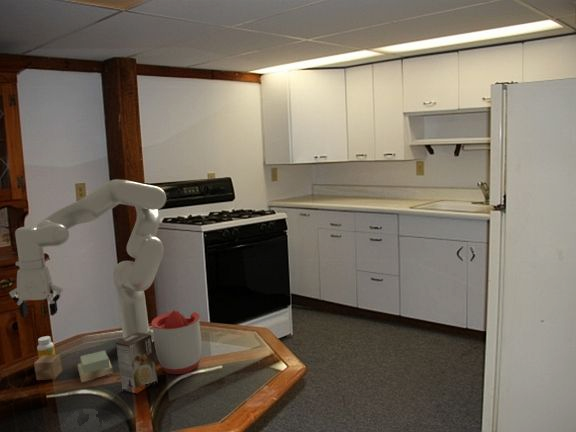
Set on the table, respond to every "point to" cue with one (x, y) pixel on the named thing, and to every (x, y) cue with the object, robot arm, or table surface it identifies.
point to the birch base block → (93, 373)
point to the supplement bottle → (45, 346)
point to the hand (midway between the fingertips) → (39, 314)
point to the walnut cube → (48, 367)
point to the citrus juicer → (177, 342)
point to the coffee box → (136, 360)
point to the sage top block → (94, 361)
